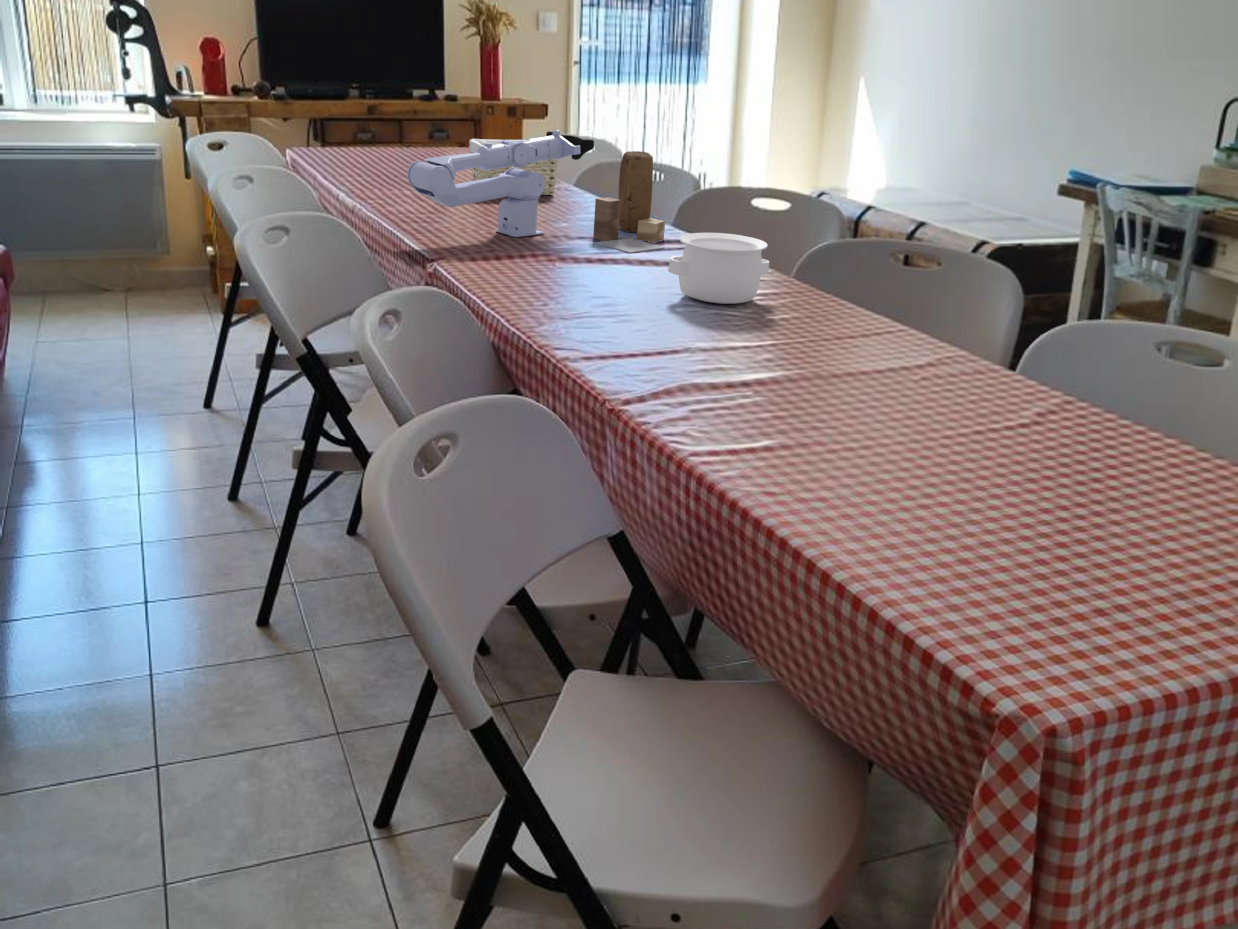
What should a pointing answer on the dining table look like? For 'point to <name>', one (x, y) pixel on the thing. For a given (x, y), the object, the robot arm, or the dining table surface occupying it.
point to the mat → (630, 245)
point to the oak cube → (651, 230)
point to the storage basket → (541, 167)
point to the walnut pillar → (607, 219)
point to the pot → (720, 267)
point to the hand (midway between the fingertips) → (583, 142)
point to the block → (635, 189)
